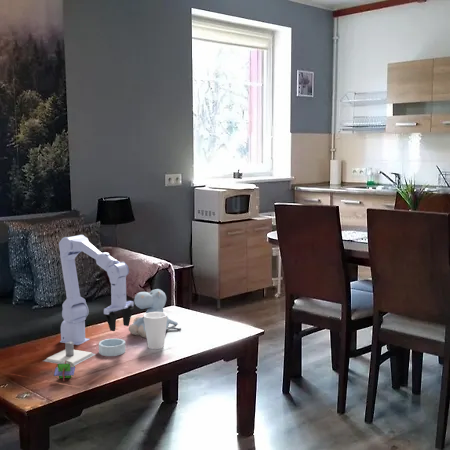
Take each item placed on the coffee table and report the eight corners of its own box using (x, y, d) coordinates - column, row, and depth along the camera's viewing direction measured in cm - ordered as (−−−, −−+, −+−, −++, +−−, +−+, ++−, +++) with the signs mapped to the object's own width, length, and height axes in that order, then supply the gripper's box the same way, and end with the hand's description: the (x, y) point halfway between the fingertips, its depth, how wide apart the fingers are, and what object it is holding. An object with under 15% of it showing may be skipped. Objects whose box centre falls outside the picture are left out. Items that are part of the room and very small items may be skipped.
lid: (46, 360, 227) (46, 345, 226) (67, 350, 238) (66, 336, 237) (72, 364, 222) (72, 349, 221) (92, 354, 233) (91, 340, 232)
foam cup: (163, 351, 238) (162, 318, 236) (141, 349, 240) (140, 317, 238) (170, 343, 247) (169, 312, 245) (148, 341, 249) (148, 311, 247)
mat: (42, 361, 226) (42, 360, 226) (66, 350, 239) (66, 349, 239) (73, 367, 221) (73, 366, 221) (96, 355, 233) (96, 354, 233)
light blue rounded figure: (126, 328, 268) (125, 287, 265) (177, 324, 273) (176, 284, 271) (130, 341, 250) (129, 297, 248) (185, 336, 256) (184, 294, 254)
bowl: (94, 354, 234) (93, 344, 233) (109, 346, 243) (108, 337, 242) (115, 358, 230) (115, 348, 229) (130, 350, 239) (130, 340, 238)
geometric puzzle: (72, 379, 203) (73, 356, 207) (51, 380, 203) (53, 357, 207) (75, 385, 210) (77, 362, 214) (55, 386, 209) (57, 363, 213)
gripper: (113, 299, 225) (113, 334, 227) (139, 291, 237) (139, 325, 239) (99, 296, 229) (100, 331, 231) (125, 289, 241) (126, 322, 243)
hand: (119, 328), depth 235 cm, fingers open, 7 cm apart
